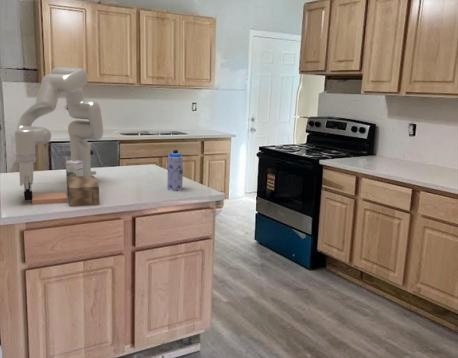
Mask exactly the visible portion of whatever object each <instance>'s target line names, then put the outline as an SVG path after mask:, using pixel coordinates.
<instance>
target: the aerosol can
mask: <svg viewBox="0 0 458 358" xmlns="http://www.w3.org/2000/svg"><path fill="white" fill-rule="evenodd" d="M183 161H184V157H183V155H182V154H181V153H180V152H179V150H178V149H173V151H172V152H171V153H169V154H168V156H167V186H166V187H167V188H166V189H168V190H167V191H170V190H172V191H171V192H178V191H177V190H181V191H183V190H184V189H183V176H184V175H183V174H184V173H183V172H184V171H183V170H184V168H183V167H184V166H183V165H184V162H183ZM182 189H183V190H182ZM173 190H174V191H173Z"/></svg>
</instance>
